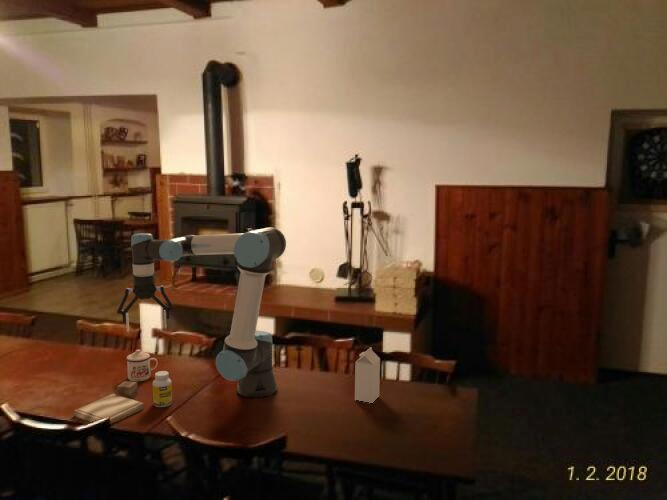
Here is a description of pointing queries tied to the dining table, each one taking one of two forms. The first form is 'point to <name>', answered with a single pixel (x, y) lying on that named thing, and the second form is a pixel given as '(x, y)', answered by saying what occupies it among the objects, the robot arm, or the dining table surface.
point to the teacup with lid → (139, 366)
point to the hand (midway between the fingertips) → (147, 329)
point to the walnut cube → (127, 389)
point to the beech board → (109, 408)
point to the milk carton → (367, 377)
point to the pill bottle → (162, 389)
